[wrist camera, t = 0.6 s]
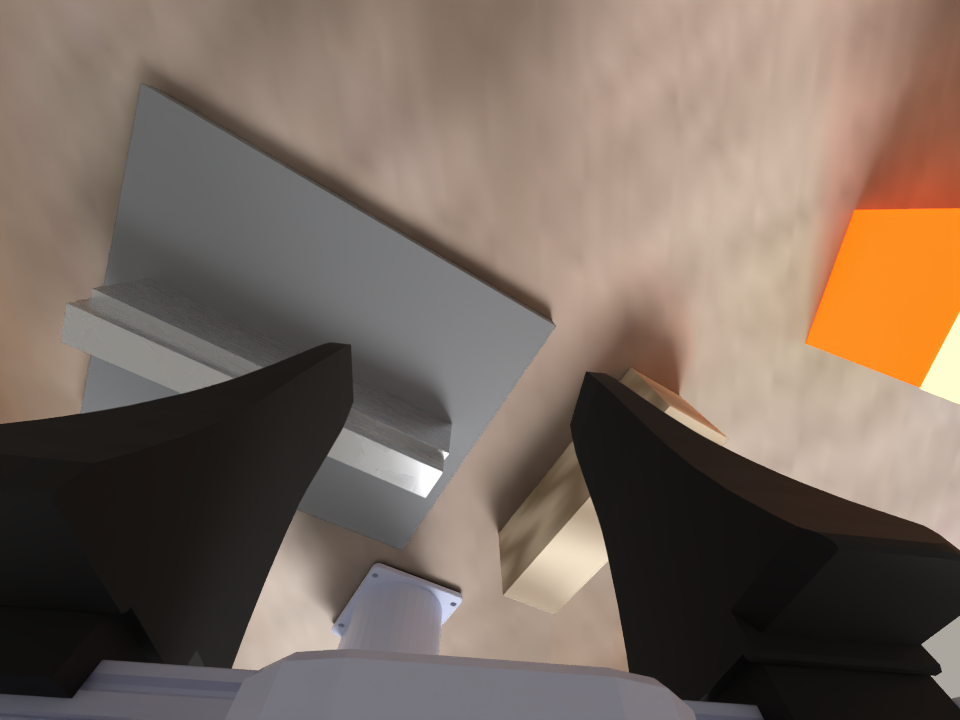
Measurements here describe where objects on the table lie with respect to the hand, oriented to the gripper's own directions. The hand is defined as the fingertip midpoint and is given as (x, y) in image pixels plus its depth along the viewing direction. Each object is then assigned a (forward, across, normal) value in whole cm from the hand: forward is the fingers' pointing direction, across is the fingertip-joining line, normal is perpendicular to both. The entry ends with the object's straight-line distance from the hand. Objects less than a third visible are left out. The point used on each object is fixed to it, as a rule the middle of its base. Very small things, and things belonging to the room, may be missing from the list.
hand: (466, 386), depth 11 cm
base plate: (+10, +9, +6) cm, 15 cm away
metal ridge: (+10, +9, +6) cm, 15 cm away
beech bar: (+10, -9, +12) cm, 17 cm away
